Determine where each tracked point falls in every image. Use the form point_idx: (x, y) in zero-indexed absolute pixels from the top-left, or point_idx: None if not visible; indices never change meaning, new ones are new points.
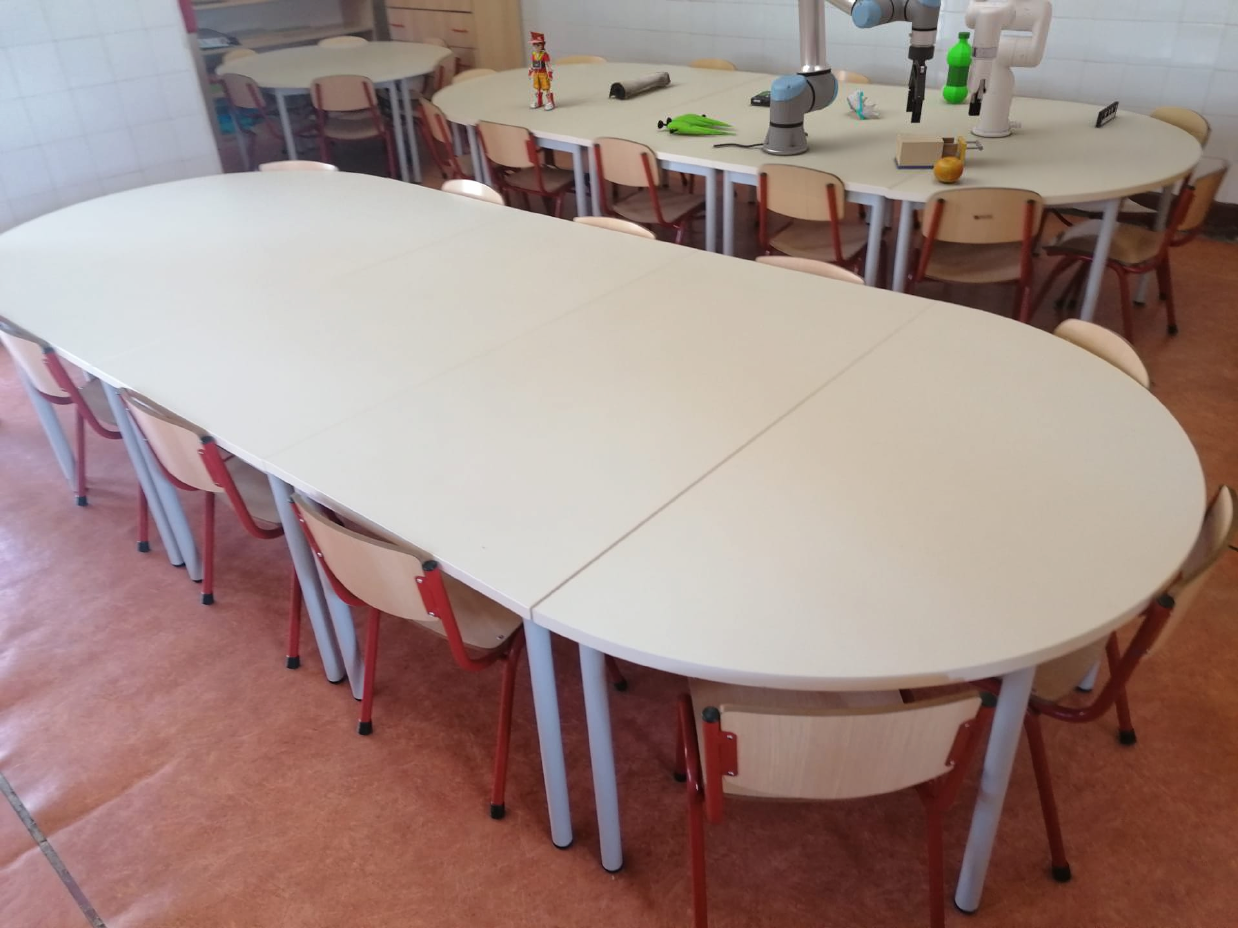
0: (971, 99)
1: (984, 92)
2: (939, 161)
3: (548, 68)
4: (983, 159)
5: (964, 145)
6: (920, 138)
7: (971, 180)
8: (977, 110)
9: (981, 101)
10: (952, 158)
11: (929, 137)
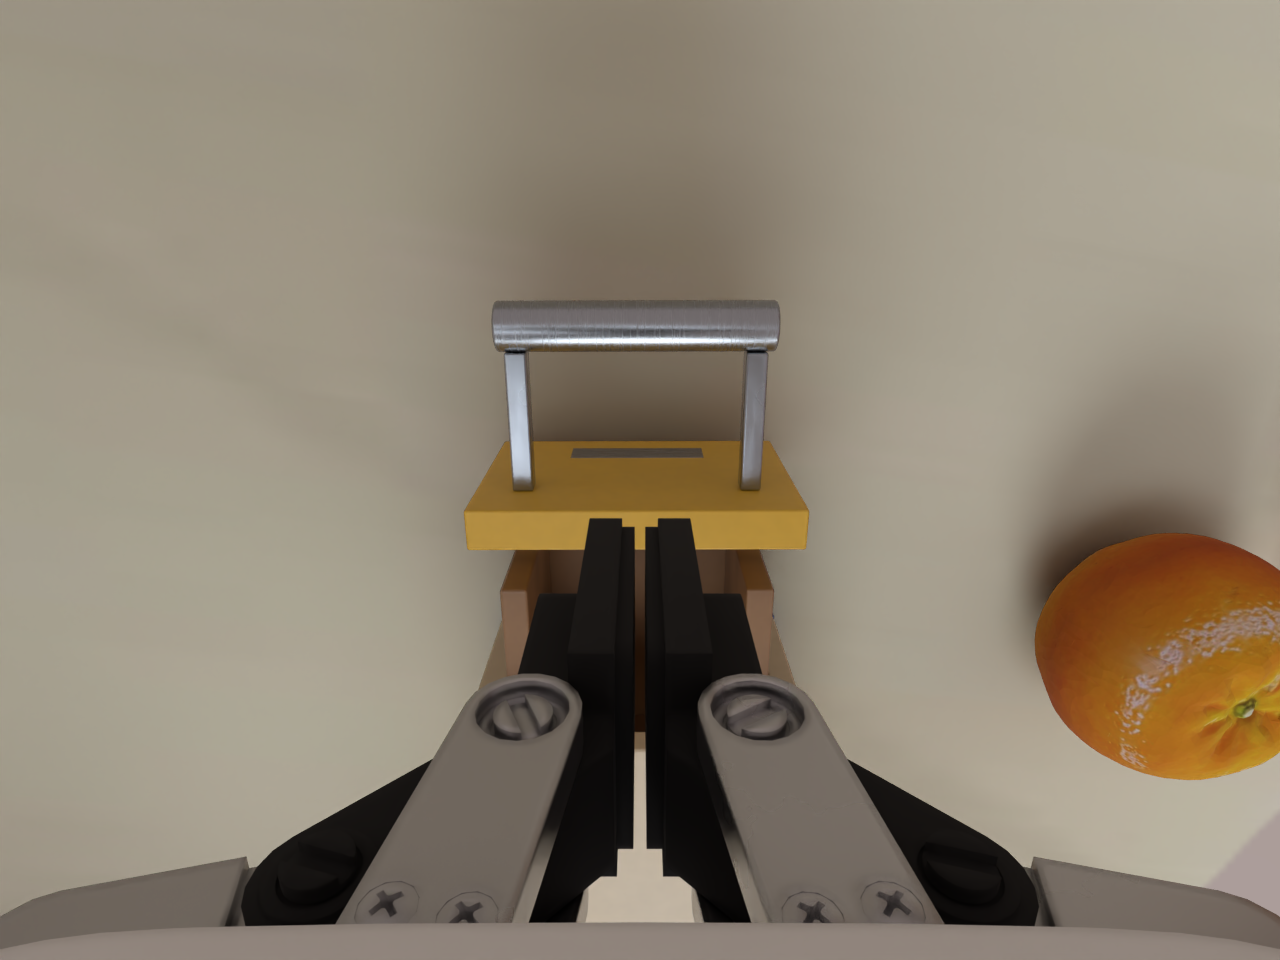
0: (585, 914)
1: (943, 939)
2: (1209, 777)
3: None
4: (513, 205)
5: (801, 526)
6: (676, 917)
7: (1123, 420)
8: (740, 628)
9: (808, 715)
10: (1228, 692)
11: (644, 848)
